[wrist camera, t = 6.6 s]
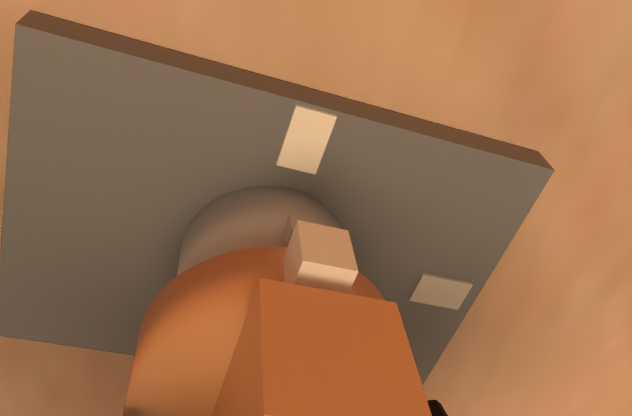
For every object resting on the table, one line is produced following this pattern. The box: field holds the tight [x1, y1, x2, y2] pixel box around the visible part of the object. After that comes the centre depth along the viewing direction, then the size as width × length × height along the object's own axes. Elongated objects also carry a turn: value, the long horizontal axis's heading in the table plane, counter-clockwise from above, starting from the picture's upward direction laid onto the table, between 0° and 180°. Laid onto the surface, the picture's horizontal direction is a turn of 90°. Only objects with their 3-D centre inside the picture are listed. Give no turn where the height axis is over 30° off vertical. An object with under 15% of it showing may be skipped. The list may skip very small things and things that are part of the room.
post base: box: [0, 10, 554, 385], centre depth 15 cm, size 13×9×4 cm
